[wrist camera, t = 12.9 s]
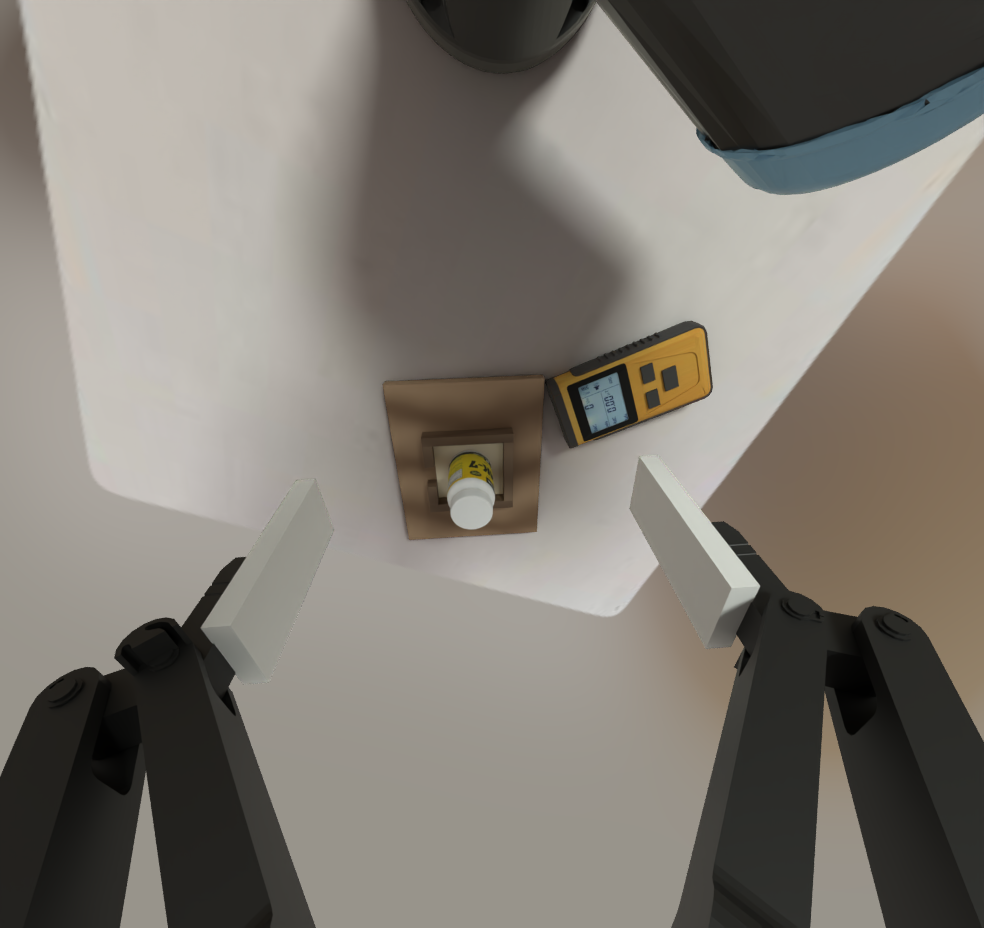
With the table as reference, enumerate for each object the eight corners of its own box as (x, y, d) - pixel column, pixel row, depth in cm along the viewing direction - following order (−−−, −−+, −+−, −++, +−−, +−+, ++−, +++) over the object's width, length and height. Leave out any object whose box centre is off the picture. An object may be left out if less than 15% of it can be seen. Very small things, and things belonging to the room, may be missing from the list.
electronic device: (700, 387, 43) (717, 398, 40) (564, 440, 45) (572, 455, 42) (691, 312, 38) (710, 319, 35) (542, 375, 40) (549, 387, 38)
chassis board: (384, 381, 39) (380, 391, 37) (542, 374, 40) (547, 383, 38) (410, 533, 49) (407, 548, 47) (535, 525, 50) (538, 539, 48)
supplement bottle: (500, 465, 44) (507, 511, 36) (471, 492, 45) (474, 541, 38) (468, 440, 42) (469, 484, 35) (439, 469, 43) (435, 516, 36)
